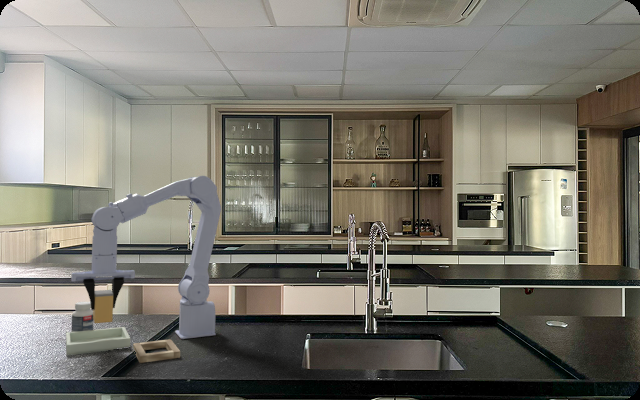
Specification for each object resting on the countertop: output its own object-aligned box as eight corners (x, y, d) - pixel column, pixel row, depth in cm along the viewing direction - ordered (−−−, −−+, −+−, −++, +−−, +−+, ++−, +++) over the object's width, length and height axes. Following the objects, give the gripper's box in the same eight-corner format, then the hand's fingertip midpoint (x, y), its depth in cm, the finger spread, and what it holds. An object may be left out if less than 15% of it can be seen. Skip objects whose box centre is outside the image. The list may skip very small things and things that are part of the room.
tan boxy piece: (110, 316, 122) (110, 289, 122) (112, 321, 117) (113, 293, 117) (93, 318, 120) (93, 290, 121) (94, 323, 115) (95, 294, 115)
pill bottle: (84, 339, 124) (85, 305, 124) (66, 337, 125) (67, 304, 125) (97, 334, 129) (98, 301, 130) (80, 332, 131) (81, 300, 131)
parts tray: (124, 336, 128) (124, 326, 128) (130, 348, 117) (130, 338, 117) (65, 342, 121) (66, 332, 121) (66, 355, 111) (66, 345, 111)
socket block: (170, 345, 121) (170, 339, 121) (180, 357, 111) (180, 351, 111) (133, 349, 116) (133, 343, 116) (139, 363, 107) (139, 356, 107)
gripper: (72, 257, 112) (70, 314, 112) (137, 255, 119) (135, 308, 119) (71, 254, 118) (70, 308, 118) (133, 252, 125) (131, 303, 125)
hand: (102, 308), depth 119 cm, fingers closed on tan boxy piece, 4 cm apart
